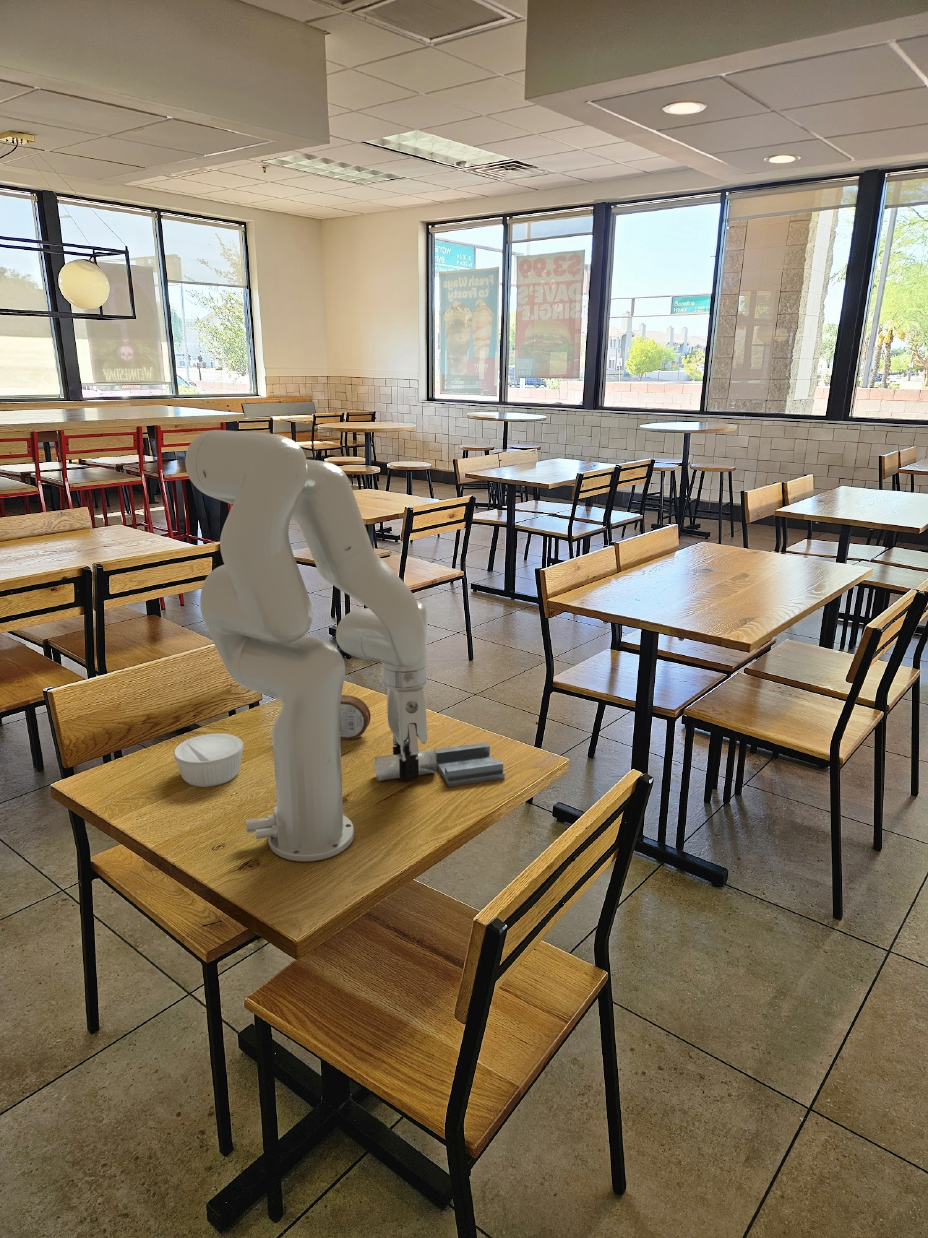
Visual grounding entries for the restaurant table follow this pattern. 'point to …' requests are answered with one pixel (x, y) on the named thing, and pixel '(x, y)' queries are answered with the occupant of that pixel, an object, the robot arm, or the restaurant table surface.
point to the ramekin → (209, 759)
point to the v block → (468, 764)
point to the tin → (353, 717)
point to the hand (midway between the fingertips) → (405, 772)
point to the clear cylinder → (390, 765)
